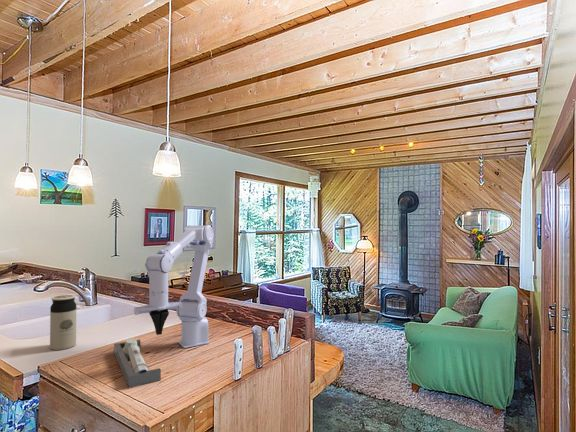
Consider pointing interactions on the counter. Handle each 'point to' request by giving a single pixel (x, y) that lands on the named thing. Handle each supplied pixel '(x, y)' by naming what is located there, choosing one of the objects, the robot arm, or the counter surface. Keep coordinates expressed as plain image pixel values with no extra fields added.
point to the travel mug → (63, 322)
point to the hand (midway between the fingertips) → (158, 333)
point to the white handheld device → (134, 356)
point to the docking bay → (128, 372)
